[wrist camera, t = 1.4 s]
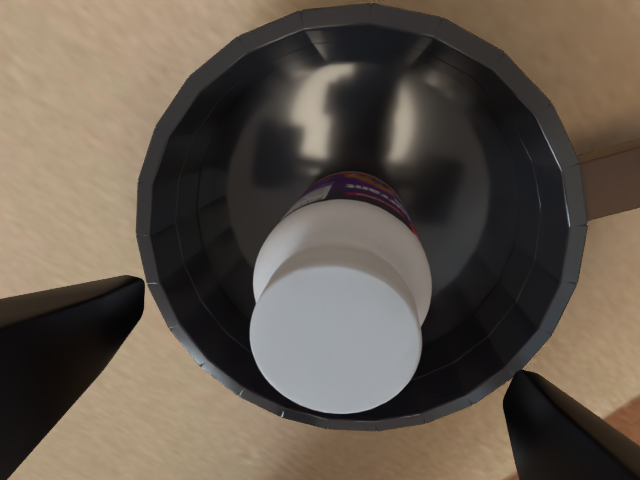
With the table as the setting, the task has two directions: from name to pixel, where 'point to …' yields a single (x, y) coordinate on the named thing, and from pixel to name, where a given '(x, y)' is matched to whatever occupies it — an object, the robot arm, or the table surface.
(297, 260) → the pill bottle
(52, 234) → the table surface
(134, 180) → the table surface
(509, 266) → the pan
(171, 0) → the table surface
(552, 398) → the robot arm
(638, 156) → the pan handle
